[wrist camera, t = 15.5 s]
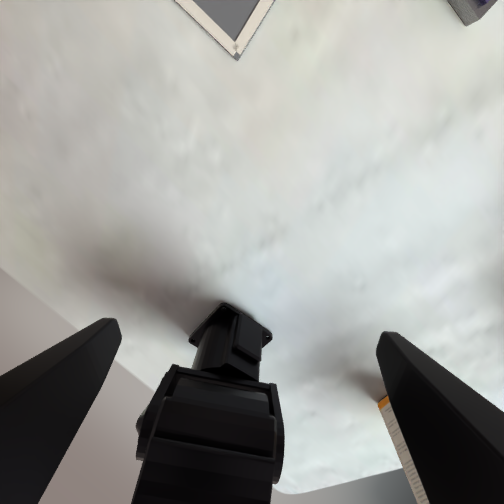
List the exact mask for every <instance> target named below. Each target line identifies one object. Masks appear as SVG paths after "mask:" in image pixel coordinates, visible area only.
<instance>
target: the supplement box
mask: <svg viewBox="0 0 504 504" xmlns="http://www.w3.org/2000/svg"><path fill="white" fill-rule="evenodd" d="M378 407H379V409H380V412H381V415H382V417H383V419H384V422H385V424H386V427H387V429H388V432H389V434H390V437H391V439H392V442H393V444H394V446H395V449H396V451H397V454H398V456H399V459H400V461H401V464H402V466H403V468H404V471H405V473H406V475H407V478H408V480H409V483H410V486H411V488H412V491H413V493H414V496H415V498H416V500H417V503H418V504H430V503H429V501H428V498H427V496H426V493H425V491H424V488H423V486H422V483H421V481H420V478H419V476H418V473H417V471H416V468H415V466H414V463H413V461H412V458H411V455H410V453H409V450H408V448H407V445H406V443H405V440H404V438H403V435H402V433H401V430H400V428H399V425H398V423H397V420H396V418H395V415H394V412H393V410H392V407H391V404H390V401H389V398H388V395H387V396H386V397H385V398H384V399H382V400H381V401H380V402H379V403H378Z"/></svg>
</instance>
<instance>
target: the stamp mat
mask: <svg viewBox="0 0 504 504" xmlns="http://www.w3.org/2000/svg"><path fill="white" fill-rule="evenodd" d="M175 1H176V2H177V3H178V4H179V5H180V6H181V7H182V8H183V9H184V10H185V11H186V12H187V13H188V14H189V15H190V16H191V17H192V18H193V19H194V20H195V21H196V22H198V23H199V24H200V25H201V26H202V27H203V28H204V29H205V30H206V31H207V32H208V33H209V34H210V35H211V36H212V37H213V38H214V39H215V40H216V41H217V42H218V43H219V44H220V45H221V46H222V47H224V48H225V49H226V50H227V51H228V52H229V53H230V54H231V55H232V56H233V57H234V58H235V59H236V60H237V61H238V60H239V58H240V57H241V55H242V53H243V52H244V50H245V48H246V47H247V45H248V44H249V42H250V40H251V39H252V37H253V35H254V34H255V32H256V31H257V29H258V27H259V26H260V24H261V23H262V21H263V19H264V18H265V16H266V14H267V13H268V11H269V10H270V8H271V6H272V5H273V3H274V2H275V0H175Z"/></svg>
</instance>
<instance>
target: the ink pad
mask: <svg viewBox="0 0 504 504" xmlns="http://www.w3.org/2000/svg"><path fill="white" fill-rule="evenodd" d="M496 1H497V0H448V2H449V3H450V4H451V6H452V7H453V9H454V10H455V11H456V13H457V14H458V16H459V17H460V18H461V20H462V21H463V22H464V24H465V25H466V26H468V25H470V24H472V23H474V22H476V21H478V20H480V19H481V18H482V16H483V15H484V14H485V13H486V12H487V11H488V10H489V9H490V8H491V7H492V6H493V5H494V4H495V3H496Z"/></svg>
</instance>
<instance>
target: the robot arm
mask: <svg viewBox="0 0 504 504" xmlns="http://www.w3.org/2000/svg"><path fill="white" fill-rule="evenodd" d="M223 307H224V308H226V309H223ZM266 336H269V337H266ZM193 339H194V340H193ZM121 340H122V335H121V332H120V328H119V325H118V322H117V320H116V319H114V318H102V319H100V320H98V321H96V322H95V323H93V324H91V325H89V326H88V327H86V328H84V329H82V330H81V331H79V332H77V333H75V334H74V335H72V336H70V337H69V338H66V339H65V340H63V341H61V342H59V343H58V344H56V345H54V346H52V347H51V348H49V349H47V350H45V351H44V352H42V353H40V354H38V355H37V356H35V357H33V358H31V359H29V360H28V361H26V362H24V363H22V364H21V365H19V366H17V367H15V368H14V369H12V370H10V371H8V372H7V373H5V374H3V375H1V376H0V504H38V502H39V501H40V499H41V497H42V495H43V493H44V491H45V490H46V488H47V486H48V484H49V482H50V481H51V479H52V477H53V475H54V473H55V471H56V470H57V468H58V466H59V464H60V462H61V460H62V459H63V457H64V455H65V453H66V451H67V449H68V447H69V446H70V444H71V442H72V440H73V438H74V437H75V435H76V433H77V431H78V429H79V427H80V426H81V424H82V422H83V420H84V418H85V417H86V415H87V413H88V411H89V409H90V407H91V405H92V404H93V402H94V400H95V398H96V396H97V395H98V393H99V391H100V389H101V387H102V385H103V383H104V381H105V378H106V376H107V374H108V371H109V369H110V367H111V364H112V362H113V360H114V358H115V355H116V353H117V351H118V348H119V346H120V343H121ZM271 340H272V333H271V332H269V331H268V330H266V329H265V328H263V327H262V326H261V325H259V324H258V323H256V322H255V321H253V320H252V319H250V318H249V317H247V316H246V315H244V314H242V313H241V312H239V311H238V310H236V309H235V308H233V307H232V306H230V305H229V304H227V303H221V304H220V305H219V306H218V307H217V308H216V309H215V310H214V311H213V312H212V313H211V315H210V316H209V317H208V318H207V319H206V320H205V321H204V322H203V323H202V324H201V325H200V326H199V327H198V328H197V329H196V330H195V331H194V332H193V333H192V334H191V336H190V337H189V343H191V344H192V345H194V346H196V347H197V348H198V349H197V353H196V356H195V359H194V362H193V365H192V368H191V369H190V368H185V367H179V365H176V364H172V366H171V368H170V369H169V371H168V372H166V374H165V376H164V377H163V378H162V381H161V383H160V385H159V387H158V389H157V390H156V392H155V394H154V396H153V398H152V400H151V401H150V404H149V405H148V406H147V407H146V409H145V410H144V411H143V413H142V414H141V415H140V417H139V418H138V420H137V423H136V429H137V432H138V435H139V437H138V445H137V451H136V460H141V461H143V463H142V467H141V470H140V474H139V478H138V481H137V484H136V488H135V491H134V495H133V499H132V502H131V504H270V502H271V493H272V484H277V483H278V481H279V479H280V475H281V472H282V466H283V458H284V439H285V436H284V424H283V418H282V413H281V407H280V402H279V396H278V391H277V385H276V384H274V383H269V384H267V383H262V382H259V366H260V361H261V352H262V348H263V347H264V346H265V345H267V344H268V343H269V342H270V341H271ZM376 356H377V360H378V363H379V367H380V370H381V374H382V377H383V381H384V384H385V388H386V391H387V395H388V398H389V401H390V404H391V407H392V410H393V412H394V415H395V418H396V420H397V423H398V425H399V428H400V430H401V433H402V435H403V438H404V440H405V443H406V445H407V448H408V450H409V453H410V455H411V458H412V461H413V463H414V466H415V468H416V471H417V473H418V476H419V478H420V481H421V483H422V486H423V488H424V491H425V493H426V496H427V498H428V501H429V503H430V504H504V412H503V411H501V410H500V409H499V408H497V407H496V406H495V405H493V404H492V403H491V402H489V401H488V400H487V399H485V398H484V397H483V396H481V395H480V394H479V393H477V392H476V391H475V390H473V389H472V388H471V387H469V386H468V385H467V384H465V383H464V382H463V381H461V380H460V379H459V378H457V377H456V376H455V375H453V374H452V373H451V372H449V371H448V370H447V369H445V368H444V367H443V366H441V365H440V364H439V363H437V362H436V361H435V360H433V359H432V358H431V357H429V356H428V355H427V354H425V353H424V352H423V351H421V350H420V349H419V348H417V347H416V346H415V345H413V344H412V343H411V342H409V341H408V340H407V339H405V338H404V337H403V336H401V335H400V334H398V333H397V332H389V331H384V332H382V334H381V336H380V339H379V342H378V345H377V348H376Z"/></svg>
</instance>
